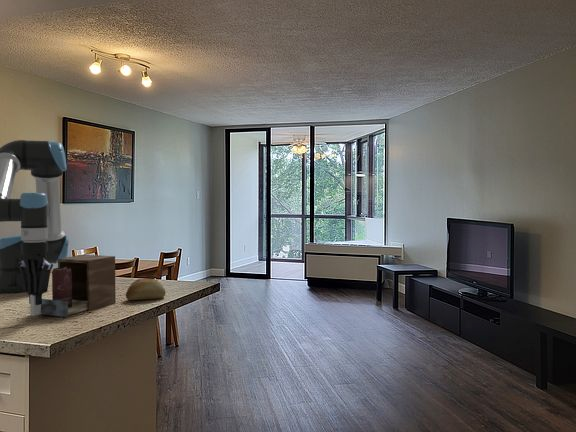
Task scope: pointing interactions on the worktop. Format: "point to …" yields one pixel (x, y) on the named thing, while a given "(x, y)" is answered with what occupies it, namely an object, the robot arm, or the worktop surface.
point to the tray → (62, 307)
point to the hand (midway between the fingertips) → (35, 314)
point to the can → (62, 285)
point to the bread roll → (145, 290)
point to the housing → (92, 279)
